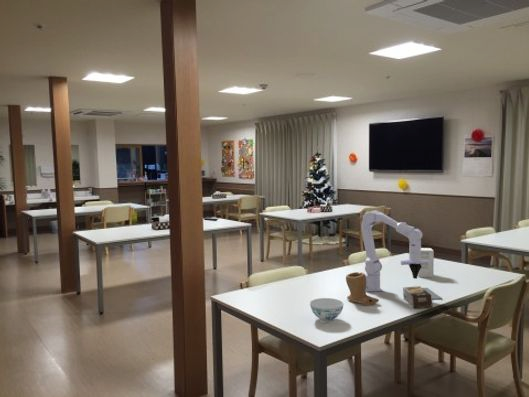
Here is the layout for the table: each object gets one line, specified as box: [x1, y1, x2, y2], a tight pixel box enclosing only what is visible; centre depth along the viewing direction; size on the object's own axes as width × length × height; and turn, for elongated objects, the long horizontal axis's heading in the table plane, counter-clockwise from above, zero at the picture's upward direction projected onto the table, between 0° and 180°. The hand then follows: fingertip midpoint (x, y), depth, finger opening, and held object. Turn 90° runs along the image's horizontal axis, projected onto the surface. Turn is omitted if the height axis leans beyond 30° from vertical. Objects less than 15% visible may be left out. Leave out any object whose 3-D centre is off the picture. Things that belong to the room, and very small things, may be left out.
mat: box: [422, 287, 443, 301], centre depth 233 cm, size 11×20×1 cm, turn 1°
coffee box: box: [402, 285, 433, 309], centre depth 217 cm, size 9×6×16 cm
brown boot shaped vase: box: [345, 272, 380, 306], centre depth 220 cm, size 15×12×15 cm
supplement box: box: [417, 247, 435, 278], centre depth 271 cm, size 10×9×17 cm
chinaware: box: [309, 297, 345, 323], centre depth 196 cm, size 15×15×8 cm
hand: (414, 278), depth 228 cm, fingers closed
